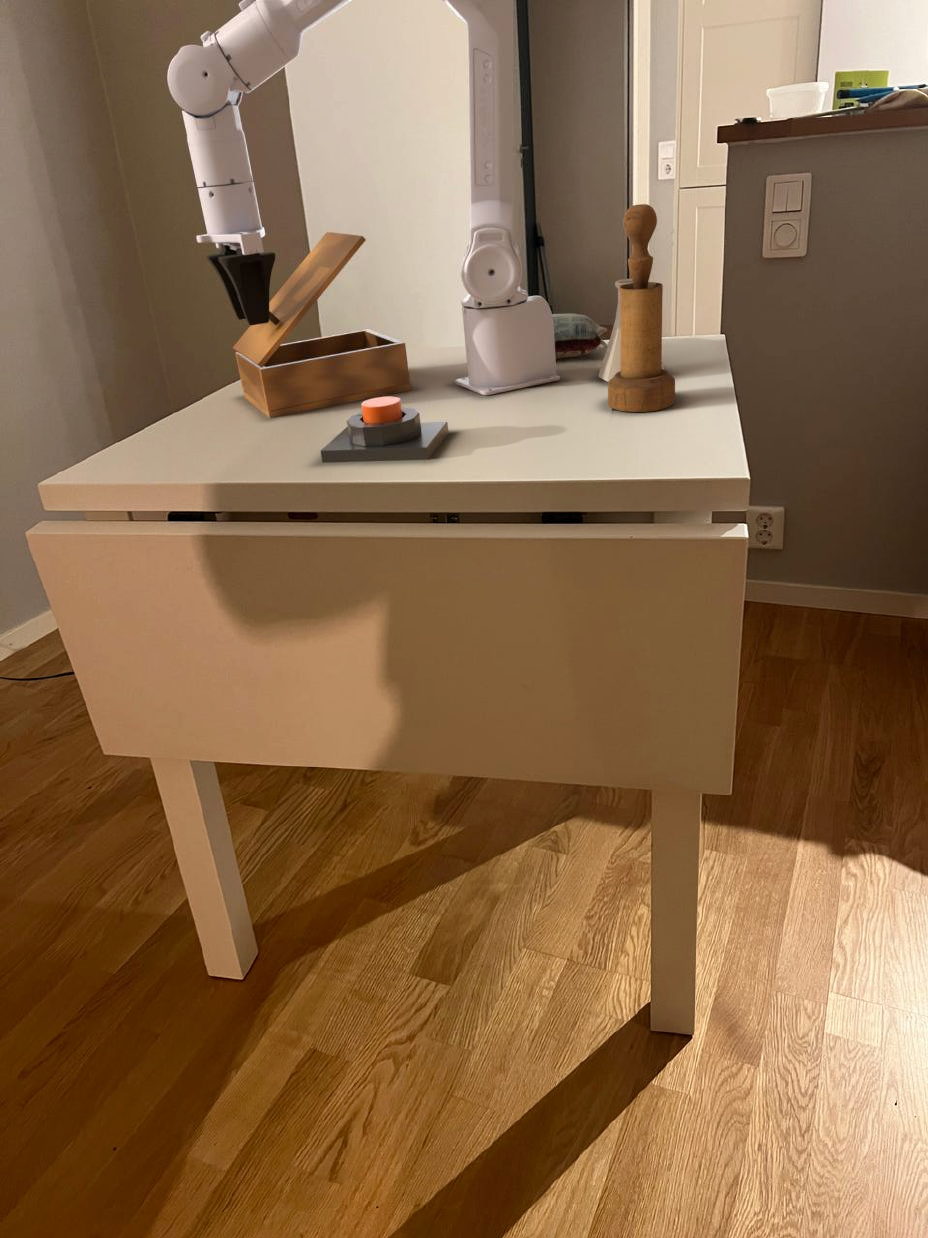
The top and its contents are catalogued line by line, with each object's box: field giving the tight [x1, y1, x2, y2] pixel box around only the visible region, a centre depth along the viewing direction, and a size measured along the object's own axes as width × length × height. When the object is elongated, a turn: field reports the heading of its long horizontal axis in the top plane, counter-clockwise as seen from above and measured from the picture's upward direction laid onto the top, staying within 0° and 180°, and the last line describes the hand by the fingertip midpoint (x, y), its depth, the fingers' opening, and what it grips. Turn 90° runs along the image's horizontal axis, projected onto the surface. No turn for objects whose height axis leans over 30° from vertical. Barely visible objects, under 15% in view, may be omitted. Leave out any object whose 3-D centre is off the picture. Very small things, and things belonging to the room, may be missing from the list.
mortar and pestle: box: [607, 203, 676, 413], centre depth 87 cm, size 7×6×18 cm
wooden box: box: [235, 328, 412, 419], centre depth 107 cm, size 17×13×5 cm
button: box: [360, 396, 403, 423], centre depth 84 cm, size 4×4×2 cm
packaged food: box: [552, 313, 608, 360], centre depth 113 cm, size 9×12×5 cm
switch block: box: [319, 406, 450, 464], centre depth 85 cm, size 10×8×3 cm
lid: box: [232, 231, 367, 368], centre depth 101 cm, size 17×13×5 cm
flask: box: [597, 278, 666, 383], centre depth 99 cm, size 7×7×10 cm
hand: (253, 320), depth 101 cm, fingers closed on lid, 5 cm apart
